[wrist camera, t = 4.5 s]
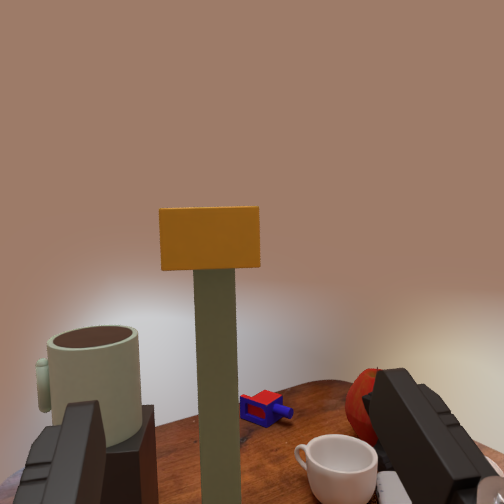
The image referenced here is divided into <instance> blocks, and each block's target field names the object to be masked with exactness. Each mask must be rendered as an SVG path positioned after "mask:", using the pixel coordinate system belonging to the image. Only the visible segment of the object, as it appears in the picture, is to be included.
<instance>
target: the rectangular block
mask: <svg viewBox="0 0 504 504" xmlns="http://www.w3.org/2000/svg"><path fill="white" fill-rule="evenodd" d="M259 225H260V224H259V206H237V207H194V208H160V209H159V228H160V249H161V270H162V271H171V270H200V269H229V268H253V267H255V268H256V267H260V226H259Z"/></svg>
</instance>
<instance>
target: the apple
mask: <svg viewBox="0 0 504 504" xmlns="http://www.w3.org/2000/svg"><path fill="white" fill-rule="evenodd" d="M379 370H381V369H378V368H377V369H366V370H364V371H363V372H362V373H361V374H360V375H359V377H358V378H357V379H356V380H355V381H354V383H353V384H352V386H351V387H350V389H349V391H348V394H347V396H346V404H345V411H346V416H347V418H348V421H349V422H350V424H351V426H352V427H353V429H354V431H355V432H356V434H357V435H358V437H359V438H360V439H361V440H362V441H364V442H366V443H367V444H369V445H370V446H371V447H374V446H375V444H376V443H377V440H378V437H377V435H376V433H375V431H374V429H373V427H372V424H371V421H370V418H369V416H368V414H367V412H366V410H365V407H364V404H363V401H362V396H364V395H366V394H367V395H368V393H370V392H372V391H373V386H374V382H375V377H376V374H377V372H378V371H379Z"/></svg>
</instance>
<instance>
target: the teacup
mask: <svg viewBox="0 0 504 504" xmlns="http://www.w3.org/2000/svg"><path fill="white" fill-rule="evenodd" d="M299 449H302V450H304V452H305V454H306V463H305V462H304V461H303V460H302V459H301V458H300V455H299ZM295 458H296V460H297V461H298V463H299V464H300V465H301V466H302V467H303V468H304V469H305V470H306V471H307V475H308V480H309V484H310V487H311V490H312V492H313V494H314V495H315V497H316V498H317V499H318V500H319V501H320V502H321V503H322V504H367V503H368V501H369V500H370V499H371V497H372V495H373V493H374V490H375V486H376V479H377V466H378V456H377V453H376V451H375V450H374V449H373V448H372V447H371V446H370V445H369V444H367V443H366V442H364V441H362V440H360V439H357V438H354V437H351V436H346V435H338V434H331V435H323V436H319V437H316V438H314V439H313V440H311V441H310V442H309V443H308V444H307V445H304V444H300V445H298V446H297V447H296V449H295Z"/></svg>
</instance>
